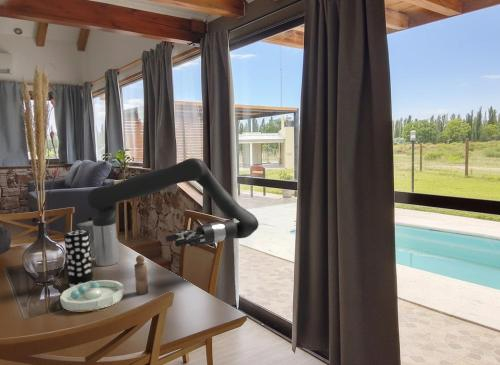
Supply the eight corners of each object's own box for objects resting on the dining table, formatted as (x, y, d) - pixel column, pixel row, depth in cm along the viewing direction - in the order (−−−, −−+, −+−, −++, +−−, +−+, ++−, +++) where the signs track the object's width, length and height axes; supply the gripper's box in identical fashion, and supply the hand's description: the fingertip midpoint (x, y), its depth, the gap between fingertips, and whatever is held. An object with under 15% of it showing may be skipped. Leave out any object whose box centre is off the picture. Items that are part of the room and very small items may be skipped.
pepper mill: (140, 289, 139) (137, 253, 137) (150, 290, 138) (148, 254, 136) (134, 294, 135) (131, 256, 134) (144, 295, 134) (141, 257, 132)
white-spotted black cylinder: (69, 283, 147) (65, 231, 145) (93, 280, 150) (89, 228, 148) (68, 291, 139) (63, 236, 137) (93, 287, 142) (88, 233, 140)
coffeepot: (74, 258, 178) (71, 219, 176) (84, 252, 188) (80, 215, 186) (107, 257, 178) (104, 218, 176) (115, 251, 187) (113, 214, 185)
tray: (88, 286, 143) (87, 276, 143) (134, 291, 138) (133, 280, 137) (48, 309, 125) (47, 297, 125) (99, 315, 120) (98, 302, 119)
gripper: (201, 220, 155) (162, 227, 146) (219, 226, 143) (178, 234, 134) (202, 239, 156) (163, 247, 147) (220, 246, 144) (179, 256, 135)
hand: (170, 241), depth 141 cm, fingers open, 8 cm apart
